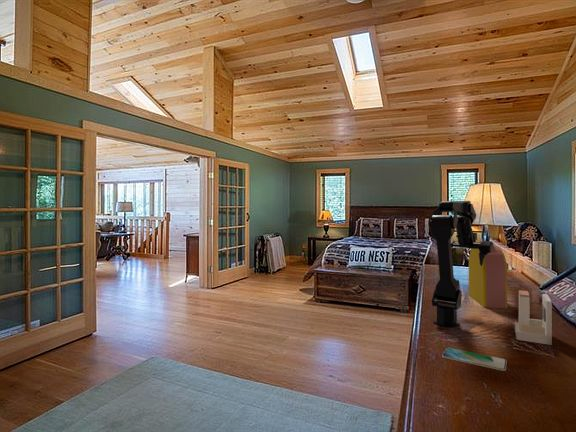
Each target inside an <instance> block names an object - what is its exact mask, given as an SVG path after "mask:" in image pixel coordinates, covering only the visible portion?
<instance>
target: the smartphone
mask: <svg viewBox="0 0 576 432" xmlns="http://www.w3.org/2000/svg"><path fill="white" fill-rule="evenodd" d="M441 357H442V358H443V359H448V360H452V361H457V362H461V363H465V364H469V365H475V366H480V367H484V368H488V369H494V370H497V371H502V372H506V371H507V364H508V360H507V359H506V358H503V357H502V358H501V357H496V356H491V355H486V354H482V353H476V352H472V351H466V350H463V349H457V348H452V347H446V348H445V350H444V351H443V354H442V355H441Z"/></svg>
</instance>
